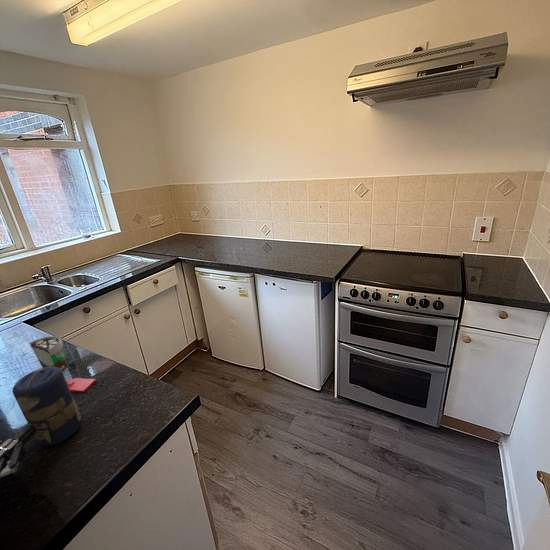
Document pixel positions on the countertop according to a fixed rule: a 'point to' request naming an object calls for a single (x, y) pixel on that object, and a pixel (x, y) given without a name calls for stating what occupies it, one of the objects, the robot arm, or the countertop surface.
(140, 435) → the countertop surface
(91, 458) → the countertop surface
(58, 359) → the food container
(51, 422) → the canister
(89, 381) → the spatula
